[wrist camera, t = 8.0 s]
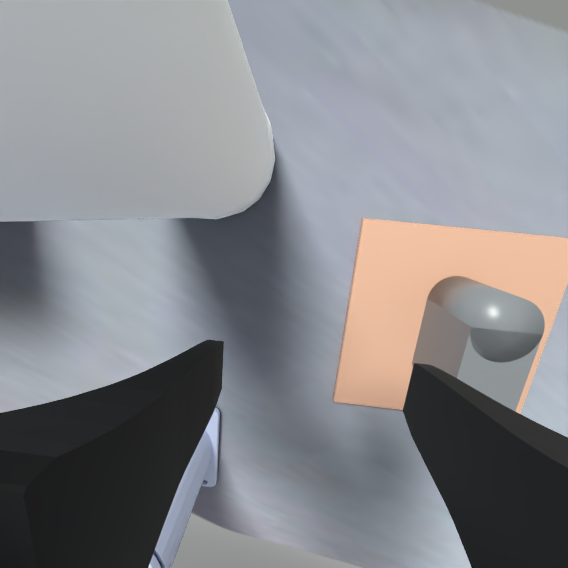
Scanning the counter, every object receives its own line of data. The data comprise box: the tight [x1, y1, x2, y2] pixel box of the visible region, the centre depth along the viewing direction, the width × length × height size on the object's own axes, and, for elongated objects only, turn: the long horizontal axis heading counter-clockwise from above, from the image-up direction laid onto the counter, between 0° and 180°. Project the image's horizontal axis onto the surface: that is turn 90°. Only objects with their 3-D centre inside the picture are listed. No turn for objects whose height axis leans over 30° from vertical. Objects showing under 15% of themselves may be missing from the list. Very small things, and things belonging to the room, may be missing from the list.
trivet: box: [333, 218, 568, 414], centre depth 20 cm, size 14×14×1 cm
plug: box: [412, 276, 545, 411], centre depth 17 cm, size 4×9×5 cm, turn 175°
